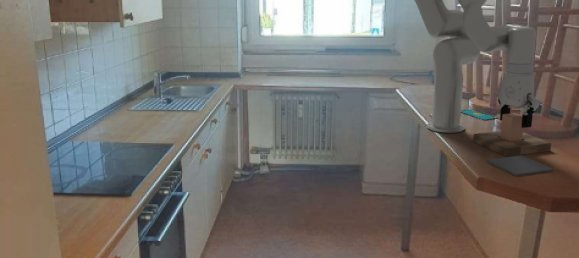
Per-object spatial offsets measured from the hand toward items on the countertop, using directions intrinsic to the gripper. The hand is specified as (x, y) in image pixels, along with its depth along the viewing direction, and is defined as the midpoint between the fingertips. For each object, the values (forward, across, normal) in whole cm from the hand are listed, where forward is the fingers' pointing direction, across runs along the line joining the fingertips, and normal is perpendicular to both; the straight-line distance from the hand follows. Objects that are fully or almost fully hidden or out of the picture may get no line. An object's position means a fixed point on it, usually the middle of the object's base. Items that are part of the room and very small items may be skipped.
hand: (515, 123), depth 155 cm
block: (+7, -1, 0) cm, 8 cm away
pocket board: (+7, -1, 0) cm, 7 cm away
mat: (+8, +15, -10) cm, 20 cm away
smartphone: (+7, -37, +14) cm, 40 cm away
